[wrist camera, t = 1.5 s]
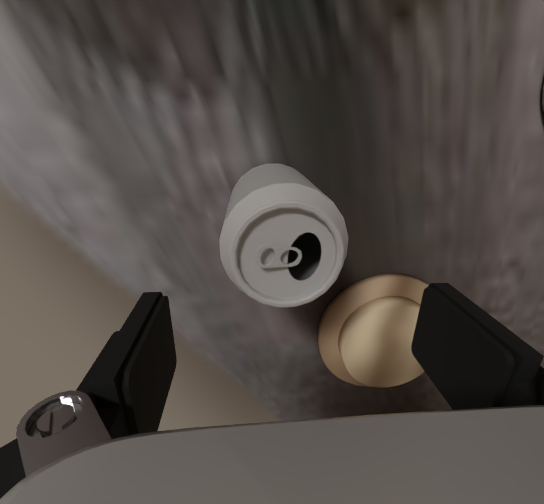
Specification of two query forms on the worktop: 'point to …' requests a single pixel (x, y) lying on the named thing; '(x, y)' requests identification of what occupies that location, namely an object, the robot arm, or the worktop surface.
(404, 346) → the plinth
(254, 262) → the can
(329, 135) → the worktop surface
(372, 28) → the worktop surface
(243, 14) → the worktop surface
